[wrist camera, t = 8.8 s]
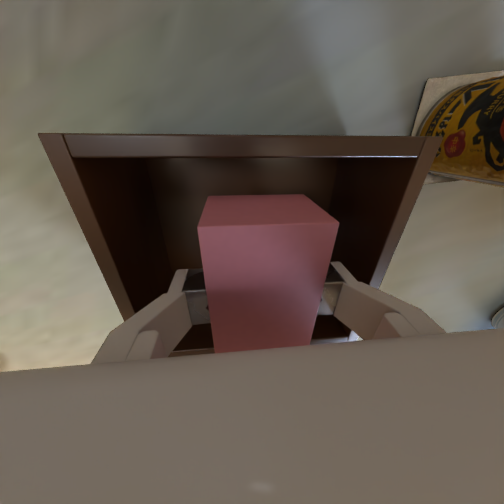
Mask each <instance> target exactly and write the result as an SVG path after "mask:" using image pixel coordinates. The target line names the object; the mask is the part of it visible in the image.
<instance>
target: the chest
mask: <svg viewBox="0 0 504 504" xmlns="http://www.w3.org/2000/svg"><path fill="white" fill-rule="evenodd" d="M38 136H39V138H40V140H41V142H42V145H43V147H44V149H45V151H46V153H47V155H48V158H49V160H50V162H51V164H52V166H53V168H54V171H55V173H56V175H57V177H58V179H59V181H60V183H61V186H62V188H63V190H64V192H65V194H66V196H67V199H68V201H69V203H70V205H71V207H72V209H73V212H74V214H75V216H76V218H77V220H78V222H79V225H80V227H81V229H82V231H83V233H84V235H85V237H86V240H87V242H88V244H89V246H90V248H91V250H92V253H93V255H94V257H95V259H96V261H97V263H98V266H99V268H100V270H101V272H102V274H103V276H104V278H105V281H106V283H107V285H108V287H109V289H110V291H111V294H112V296H113V298H114V300H115V302H116V304H117V307H118V309H119V311H120V313H121V315H122V317H123V320H124V322H125V321H126V320H128V319H129V318H130V317H132V316H133V315H135V314H136V313H137V312H139V311H140V310H142V309H143V308H144V307H146V306H147V305H148V304H150V303H151V302H153V301H154V300H155V299H157V298H158V297H160V296H161V295H162V294H164V293H167V292H168V290H169V287H170V285H171V282H172V280H173V277H174V275H175V272H176V271H177V270H178V269H203V265H202V258H201V251H200V244H199V237H198V230H197V227H198V224H199V221H200V218H201V215H202V212H203V209H204V207H205V204H206V201H207V198H208V196H229V195H286V194H304V195H305V196H306V197H308V198H309V199H310V200H312V201H313V202H314V203H315V204H317V205H318V206H319V207H320V208H322V209H323V210H324V211H325V212H327V213H328V214H329V215H330V216H332V217H333V218H334V219H336V220H337V221H338V222H339V227H338V231H337V235H336V239H335V243H334V247H333V251H332V255H331V259H330V262H336V261H339V262H341V263H342V264H343V265H344V267H345V268H346V269H347V270H348V271H349V272H350V273H351V274H352V276H353V277H354V278H355V279H356V280H357V281H358V282H363V283H365V284H367V285H370V286H372V287H374V288H376V289H379V287H380V284H381V282H382V280H383V277H384V275H385V273H386V270H387V268H388V266H389V263H390V261H391V259H392V256H393V254H394V252H395V249H396V247H397V245H398V242H399V240H400V238H401V235H402V233H403V231H404V228H405V226H406V224H407V221H408V219H409V217H410V214H411V212H412V210H413V207H414V205H415V203H416V200H417V198H418V196H419V193H420V191H421V189H422V186H423V184H424V182H425V179H426V177H427V175H428V172H429V170H430V168H431V165H432V163H433V161H434V158H435V156H436V154H437V151H438V149H439V147H440V144H441V142H442V140H443V137H442V136H329V135H210V134H92V133H38ZM357 338H358V335H357V334H356V333H355V332H353V331H352V330H351V329H350V328H348V327H347V326H346V325H345V324H343V323H342V322H341V321H340V320H338V319H337V318H336V317H335V316H333V315H317V316H316V321H315V325H314V329H313V333H312V337H311V341H310V345H316V344H327V343H339V342H350V341H356V340H357ZM213 353H215V350H214V343H213V336H212V329H211V323H207V324H197V325H192V327H191V328H190V329H189V331H188V332H187V333H186V334H185V336H184V337H183V338H182V339H181V341H180V342H179V343H178V344H177V346H176V347H175V348H174V349H173V351H172V352H171V353H170V354H169V356H168V357H179V356H190V355H201V354H213Z"/></svg>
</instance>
